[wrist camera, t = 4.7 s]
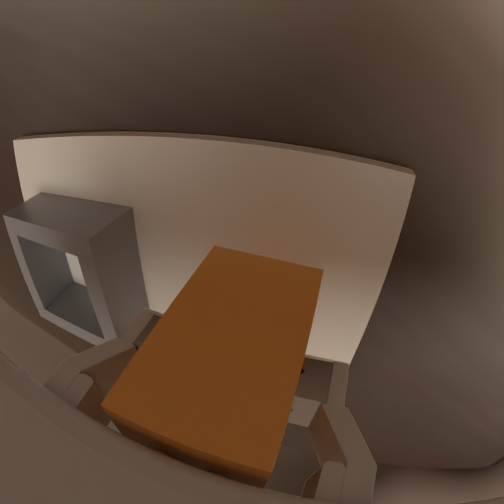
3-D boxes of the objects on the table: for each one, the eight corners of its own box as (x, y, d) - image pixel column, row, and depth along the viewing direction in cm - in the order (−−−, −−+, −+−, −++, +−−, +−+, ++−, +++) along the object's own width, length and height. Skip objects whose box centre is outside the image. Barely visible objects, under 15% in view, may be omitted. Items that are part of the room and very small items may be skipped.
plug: (214, 245, 11) (66, 456, 4) (323, 269, 10) (246, 540, 4) (216, 320, 14) (120, 493, 7) (304, 343, 13) (241, 541, 6)
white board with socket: (23, 136, 16) (-26, 157, 13) (411, 168, 11) (437, 211, 8) (61, 290, 24) (29, 320, 20) (339, 377, 19) (329, 436, 15)
